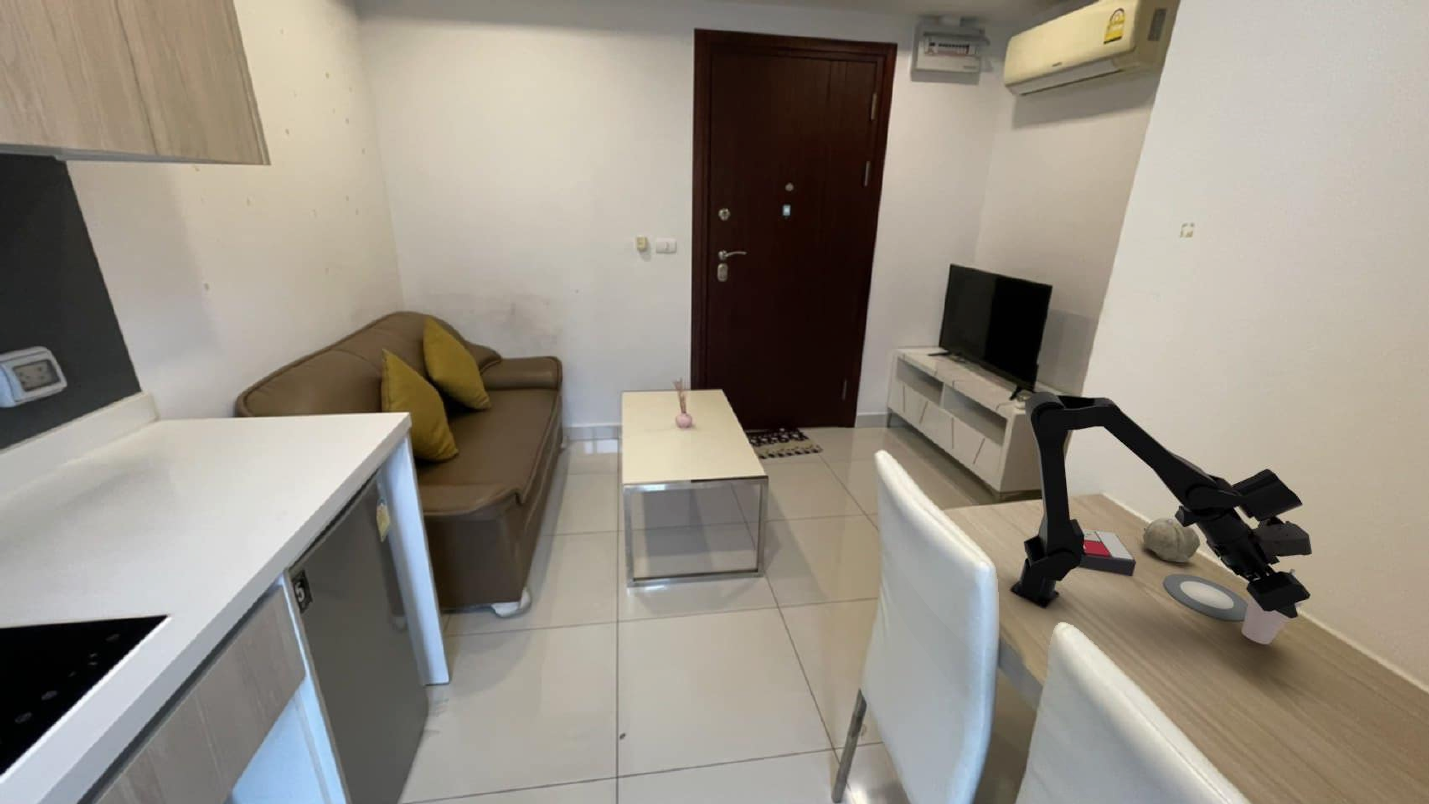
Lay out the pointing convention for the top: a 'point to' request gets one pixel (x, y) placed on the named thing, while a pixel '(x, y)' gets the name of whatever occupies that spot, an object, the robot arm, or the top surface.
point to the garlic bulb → (1171, 540)
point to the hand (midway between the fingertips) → (1282, 604)
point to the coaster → (1206, 597)
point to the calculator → (1106, 553)
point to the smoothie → (1263, 621)
